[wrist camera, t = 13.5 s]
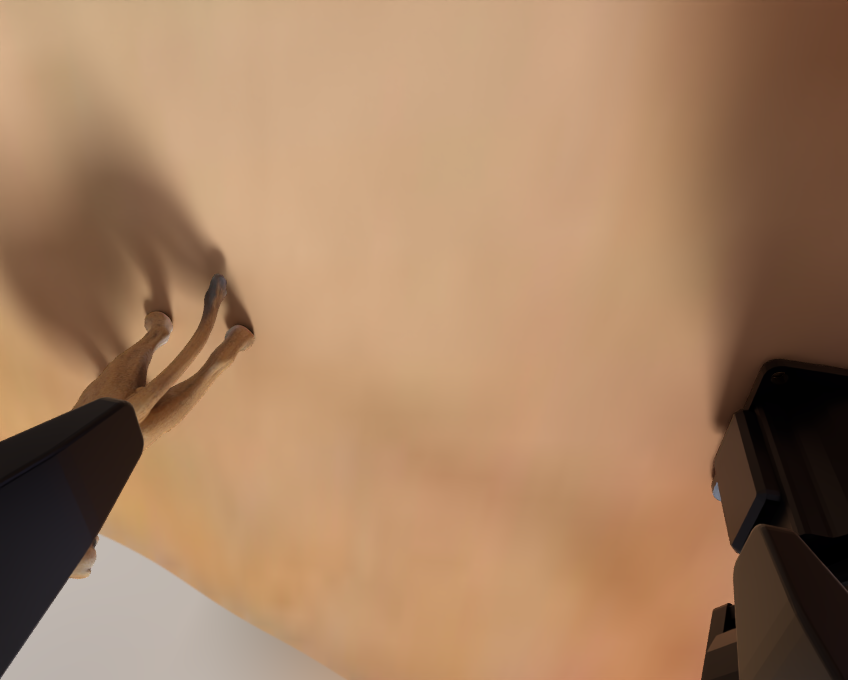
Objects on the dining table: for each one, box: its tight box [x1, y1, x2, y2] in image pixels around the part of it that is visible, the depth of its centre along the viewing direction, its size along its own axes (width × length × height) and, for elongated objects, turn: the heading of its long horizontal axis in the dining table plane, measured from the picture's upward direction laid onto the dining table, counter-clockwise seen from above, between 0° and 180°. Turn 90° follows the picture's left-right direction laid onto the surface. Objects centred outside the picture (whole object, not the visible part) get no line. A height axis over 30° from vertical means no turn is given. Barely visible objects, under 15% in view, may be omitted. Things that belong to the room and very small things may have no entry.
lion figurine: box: [69, 274, 254, 579], centre depth 24 cm, size 15×5×9 cm, turn 147°
